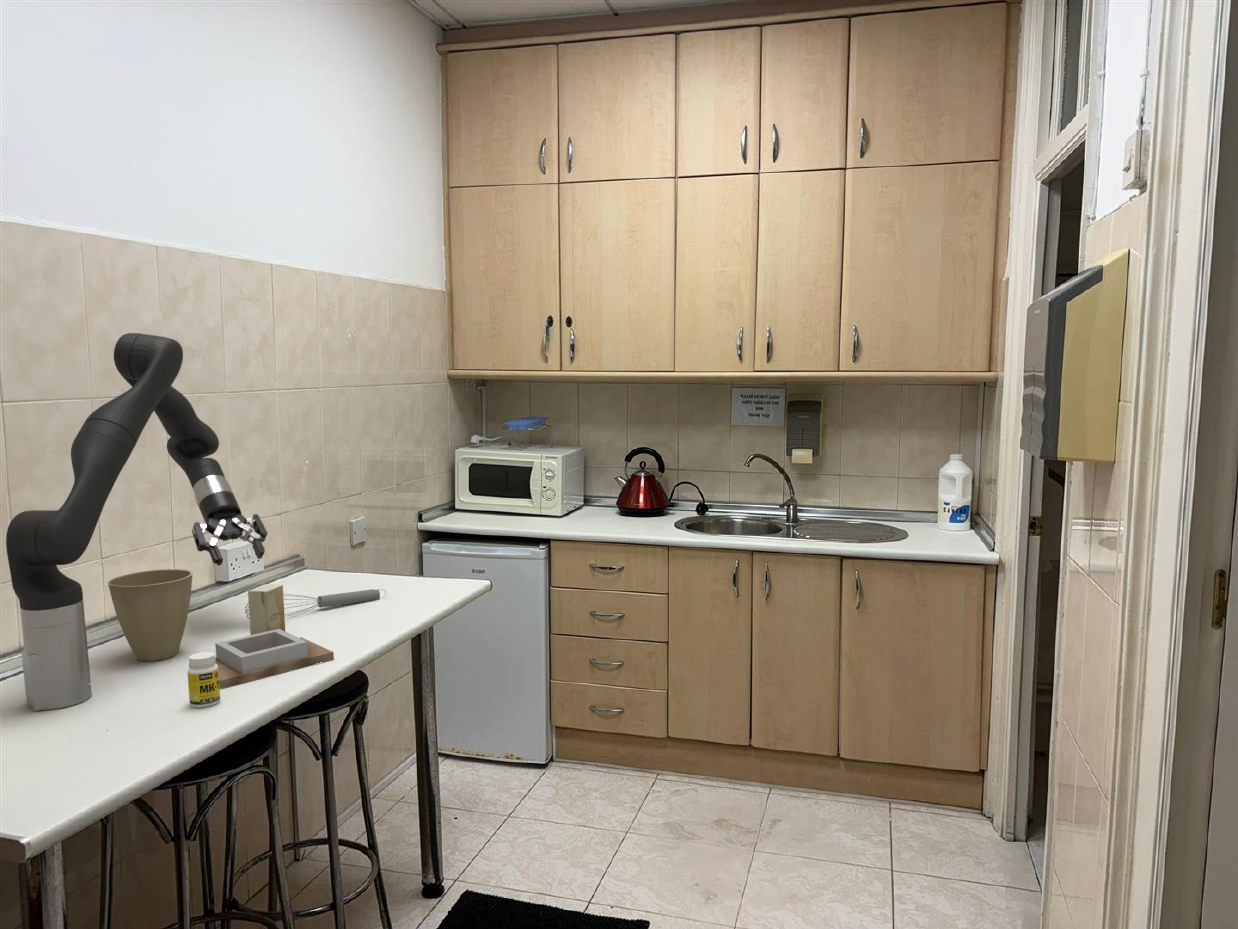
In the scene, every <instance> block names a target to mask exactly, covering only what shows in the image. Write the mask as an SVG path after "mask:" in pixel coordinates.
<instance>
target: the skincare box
mask: <svg viewBox="0 0 1238 929" xmlns="http://www.w3.org/2000/svg"><path fill="white" fill-rule="evenodd" d="M247 596H248V602H249V603H248V604H249V605H248V606H249V608H248V610H249V611H248V614H249V615H248V617H249V618H250V619H249V630H250V635H254V634H258V633H262V632H267V631H271V630H276V629H281V630H283V631H285V632H286V622H285V621H286V620H285V619H286V615H284V614H285V609H284V608H285V605H284V604H285V600H284V599H285V598H284V585H283V584H270V583H269V584H268V583H266V584H262V585H260V586H257V587H254V588H253V589H250V590H248V591H247Z"/></svg>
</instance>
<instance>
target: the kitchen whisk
mask: <svg viewBox="0 0 1238 929" xmlns="http://www.w3.org/2000/svg"><path fill="white" fill-rule="evenodd" d="M381 591H384V592H385V594H384V595H385V596H387V590H385V589H382V588H381V589H380V588H378V589H375V588H374V589H373V588H372V589H366V590H363V589H362V590H358V591H357V590H356V591H350V592H349V591H348V592H341V593H335V594H334V593H333V594H326V595H324V594H323V595H319V596H318V597H312V596H307V595H300V594H295V595H294V597H295V598H284V601H286V600H289V601H291V600H293V601H295V600H296V601H304V600H305V601H304V602H300V604H302V605H294V604H297V602H293V603H289V605H294V606H288V607H284V610H286V609H290V608H297V607H301V606H304V604H305V606H308V605H312V606H309V607H306V608H303V609H300V610H297V611H296V610H295V611H293V612H289V613H284V615H285V616H286V617H288V616H290V617H288V618H286V619H292V618H295V617H297V616H299V615H301V614H305V613H306V612H309V611H311V610H313V609H316V608H317V607H318V608H328V607H335V606H342V605H351V604H356V603H357V602H358V603H363V602H362V601H365V602H369V601H368V600H372V601H374V600H373V599H376V598H379V599H381V598H380V597H381ZM284 596H293V594H292V593H291V594H290V593H284ZM296 597H299V598H296ZM304 598H305V599H304ZM306 598H308V599H306ZM309 599H312V600H313V602H310V603H309ZM376 600H377V599H376ZM306 603H307V604H306ZM285 605H287V603H284V606H285ZM244 610H245V611H244V613H245V614H246V618H248V619H249V620H250V617H249V601H248V602H247V604H246V606H245V607H244ZM291 615H293V616H291Z"/></svg>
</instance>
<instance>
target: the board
mask: <svg viewBox="0 0 1238 929" xmlns="http://www.w3.org/2000/svg"><path fill="white" fill-rule="evenodd" d="M299 638H300V639H302V640H305V641H307V644H308V657H307V658H303V659H299V660H295V661H291V662H287V663H283V664H279V665H275V666H271V667H267V668H263V669H259V670H255V671H251V672H247V673H243V674H242V673H241V672H239V671H237V670H236V669H234V668H232V667H230V666H229V665H227V664H225V663H223V662H222V661H220V660H218V659H217V658H216V656H215V659H216V660H215V664H217V666H218V673H219V688H220V690H222V689H226V688H229V687H233V686H238V685H241V684H245V683H248V682H252V681H256V680H260V679H263V678H264V679H265V678H268V677H271V676H276V675H279V674H280V675H281V674H283V673H287V672H291V671H290V670H292V671H294V669H295V670H298V669H302V668H303V669H304V668H307V667H310V665H311V666H313V664H315V665H317V664H316V663H319V664H321V663H320V662H322V663H326V662H329V660H330V661H334V660H335V658H334V651H333V650H330V649H328V648H326V647H324V646H321V645H319V644H317V643H315V642H313V641H310V640H308V639H306V638H304V637H302V636H299ZM272 648H273V647H272ZM268 649H269V648H268ZM264 650H265V649H264ZM251 653H252V652H251ZM247 654H248V653H247ZM333 659H334V660H333ZM188 666H189V667H188V669H189V668H190V667H191V666H190V664H189V663H188ZM225 687H226V688H225ZM221 688H222V689H221Z"/></svg>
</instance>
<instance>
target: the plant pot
mask: <svg viewBox="0 0 1238 929" xmlns="http://www.w3.org/2000/svg"><path fill="white" fill-rule="evenodd" d="M193 574H194V573H193V572H192V571H191V570H189V569H183V568H182V569H180V568H178V569H177V568H174V569H173V568H172V569H171V568H169V569H168V568H167V569H151V570H146V571H145V570H144V571H138V572H133V573H129V574H124V575H120V576H116V577H114V578H112V579H110V580H108V582H107V585H108V590H109V593H110V597H111V601H112V605H113V607H114V611H115V615H116V617H117V620H118V623H119V625H120V628H121V630H122V632H123V635H124V637H125V639H126V641H127V644H128V645H129V647H130V650H131V651H132V653H133V655H134V657H135V658H136V659H137V661H143V662H153V661H160V660H164V659H169V658H171V657H174V656H175V655H177V654H178V652H179V650H180V648H181V647H180V646H181V643H182V639H183V636H184V633H185V629H186V624H187V620H188V616H189V610H190V606H191V605H190V604H191V597H192V588H193V587H192V586H193V585H192V584H193Z"/></svg>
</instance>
